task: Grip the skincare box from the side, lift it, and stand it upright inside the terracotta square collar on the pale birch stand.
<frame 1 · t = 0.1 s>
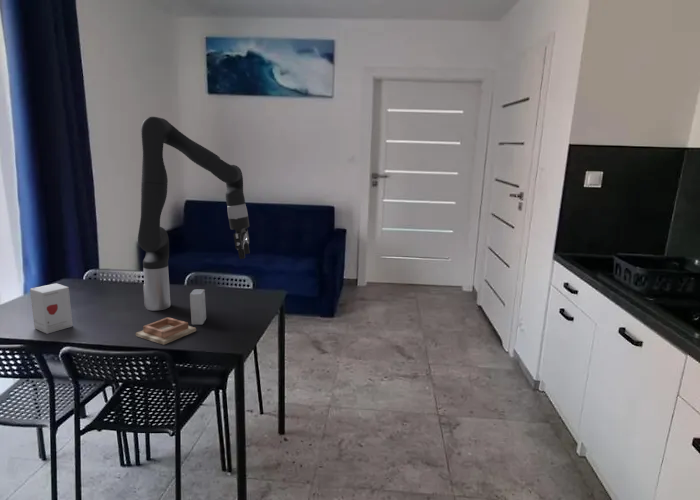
hand: (244, 256, 181), 22 cm above the table, tool pointing down, fingers open, 8 cm apart
skincare box: (198, 322, 171), on the table
serum stand: (166, 333, 159), on the table
supplement box: (54, 328, 162), on the table
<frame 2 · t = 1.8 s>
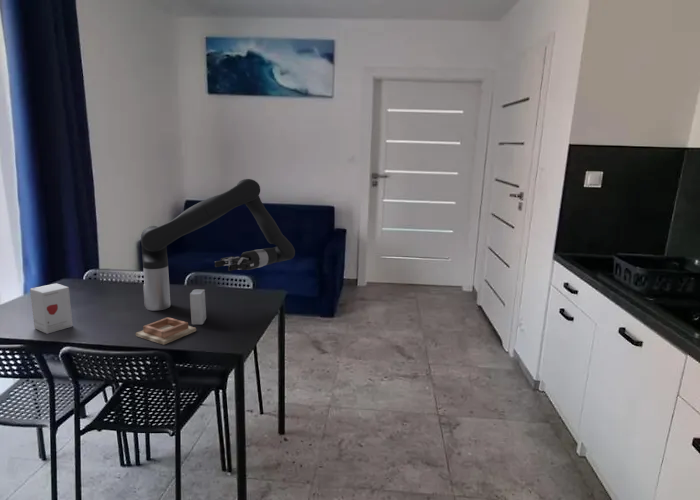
hand: (221, 266, 176), 20 cm above the table, tool horizontal, fingers open, 8 cm apart
nothing on the table moved.
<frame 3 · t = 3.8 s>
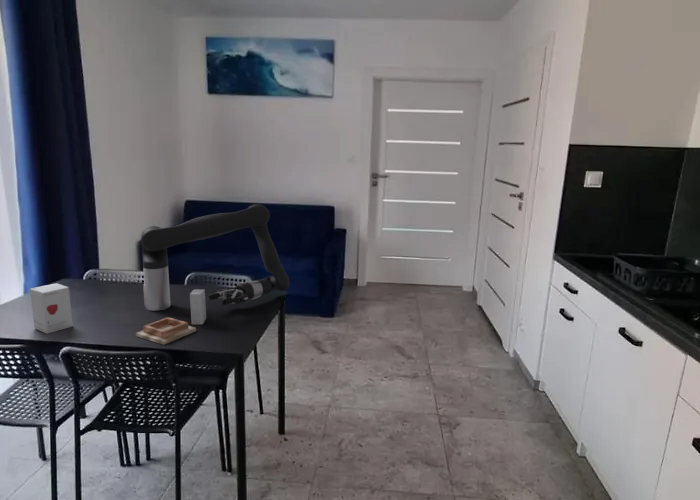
hand: (216, 300, 176), 7 cm above the table, tool horizontal, fingers open, 8 cm apart
nothing on the table moved.
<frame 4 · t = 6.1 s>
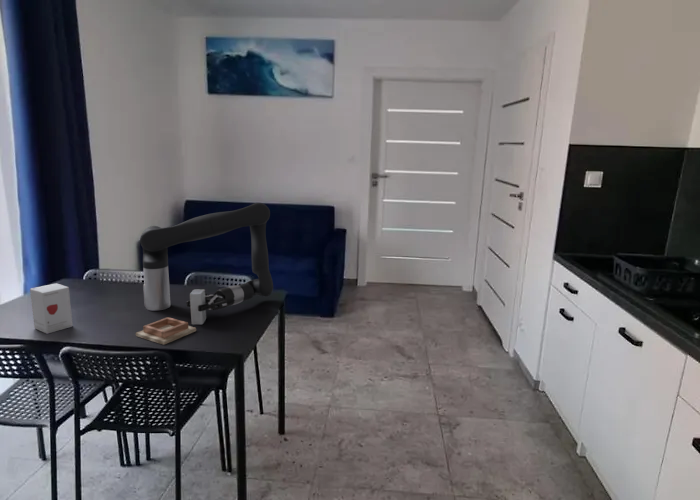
hand: (192, 306, 168), 7 cm above the table, tool horizontal, fingers closed on skincare box, 7 cm apart
skincare box: (198, 322, 171), on the table, touching gripper
everything else where it was.
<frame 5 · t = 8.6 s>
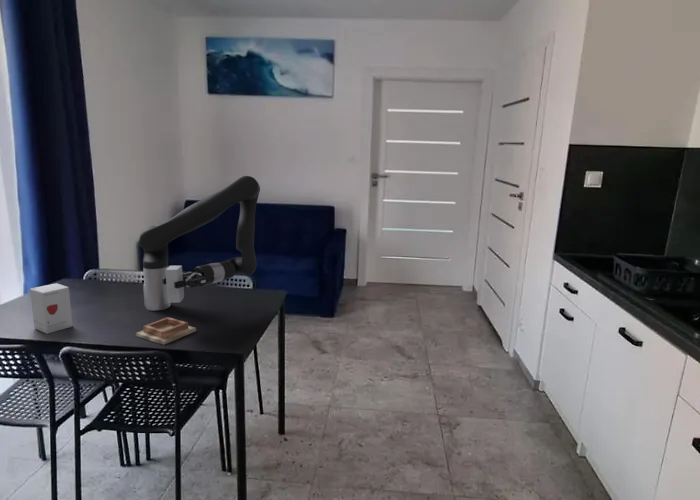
hand: (169, 283, 158), 18 cm above the table, tool horizontal, fingers closed on skincare box, 7 cm apart
skincare box: (176, 300, 161), point 11 cm above the table, touching gripper
everything else where it was.
when the fingers open (9 cm above the table, at t = 11.5 s): skincare box drops 1 cm, resting on serum stand.
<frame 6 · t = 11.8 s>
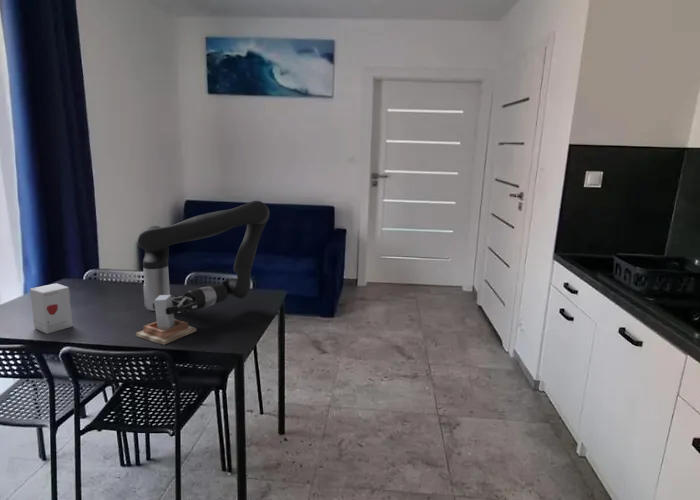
hand: (159, 308, 156), 10 cm above the table, tool horizontal, fingers open, 8 cm apart
skincare box: (166, 330, 159), point 1 cm above the table, touching serum stand
everything else where it was.
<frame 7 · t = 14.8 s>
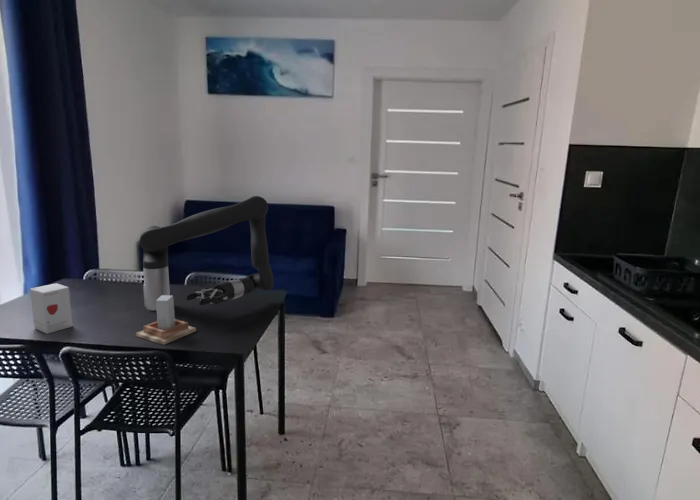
hand: (193, 300, 166), 10 cm above the table, tool horizontal, fingers open, 8 cm apart
nothing on the table moved.
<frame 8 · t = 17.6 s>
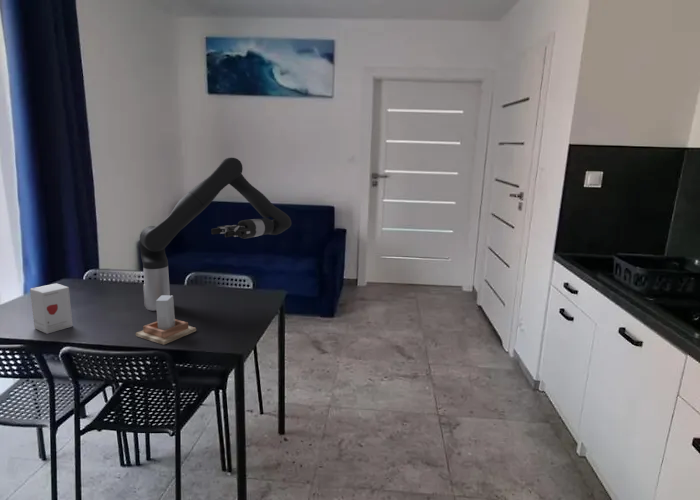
hand: (218, 233, 176), 32 cm above the table, tool horizontal, fingers open, 8 cm apart
nothing on the table moved.
at the end: skincare box 0.2 cm off-centre on the serum stand, point 1.0 cm above the serum stand's base; skincare box tilted 0°; the gripper is holding nothing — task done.
